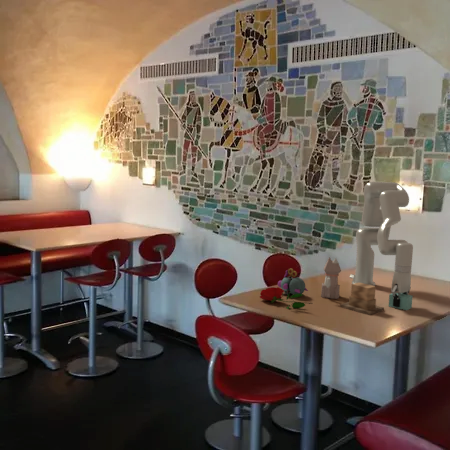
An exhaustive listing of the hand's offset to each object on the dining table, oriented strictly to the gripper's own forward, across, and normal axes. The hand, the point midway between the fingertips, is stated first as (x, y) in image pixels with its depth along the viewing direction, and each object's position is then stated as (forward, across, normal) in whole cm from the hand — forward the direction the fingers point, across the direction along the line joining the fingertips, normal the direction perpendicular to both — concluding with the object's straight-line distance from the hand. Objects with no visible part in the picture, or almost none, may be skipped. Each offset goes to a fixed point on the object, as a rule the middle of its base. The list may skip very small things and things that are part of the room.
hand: (400, 305), depth 265 cm
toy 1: (+1, +25, -46) cm, 52 cm away
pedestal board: (+1, +17, -10) cm, 20 cm away
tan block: (-4, +17, -10) cm, 20 cm away
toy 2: (+1, +14, -31) cm, 34 cm away
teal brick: (+1, 0, 0) cm, 1 cm away
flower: (+1, +42, -35) cm, 55 cm away
